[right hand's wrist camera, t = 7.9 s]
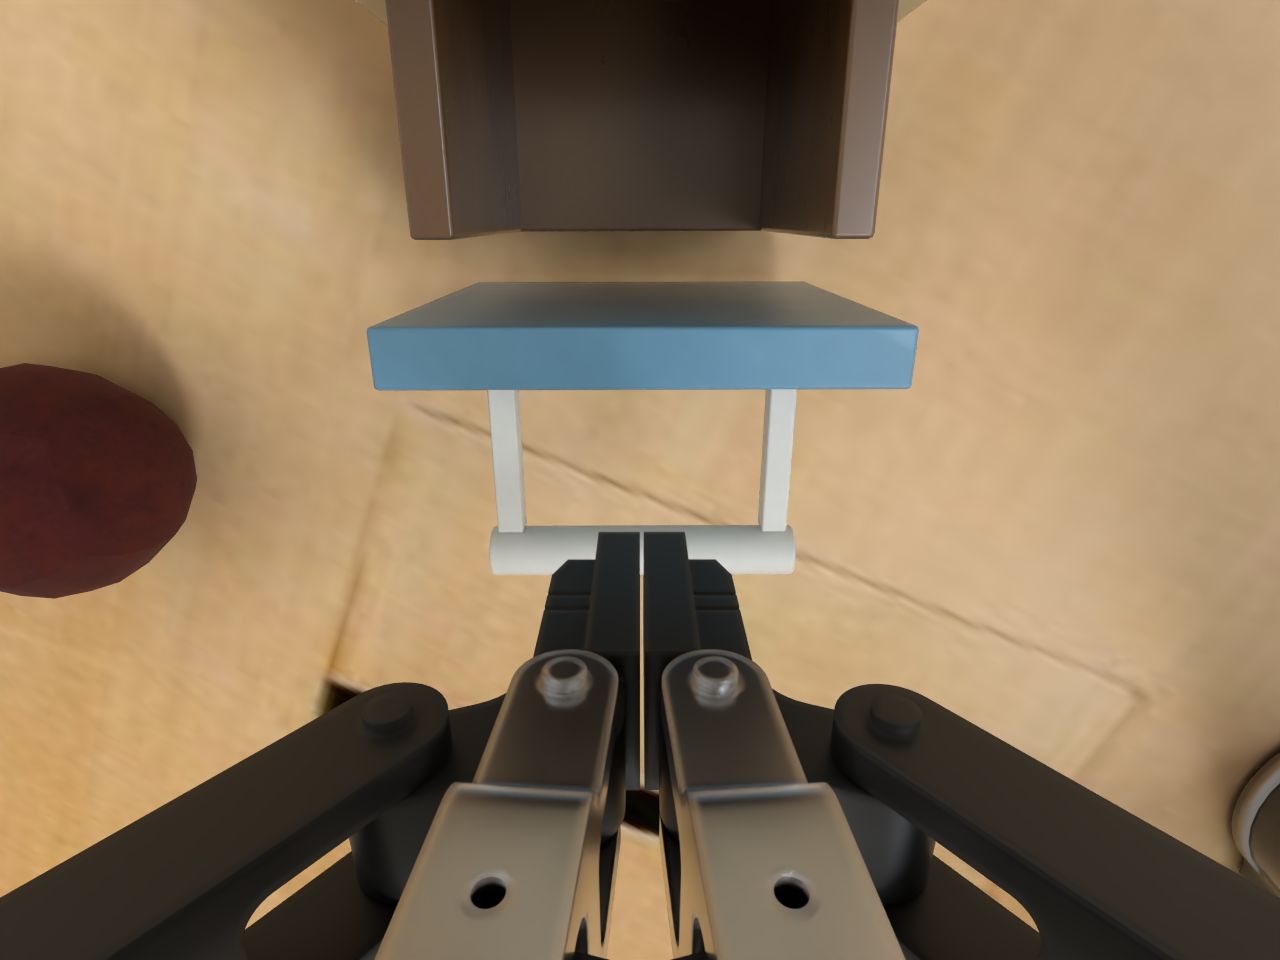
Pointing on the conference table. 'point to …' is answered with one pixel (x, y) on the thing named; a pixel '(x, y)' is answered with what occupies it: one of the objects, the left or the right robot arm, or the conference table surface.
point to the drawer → (642, 217)
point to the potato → (84, 481)
